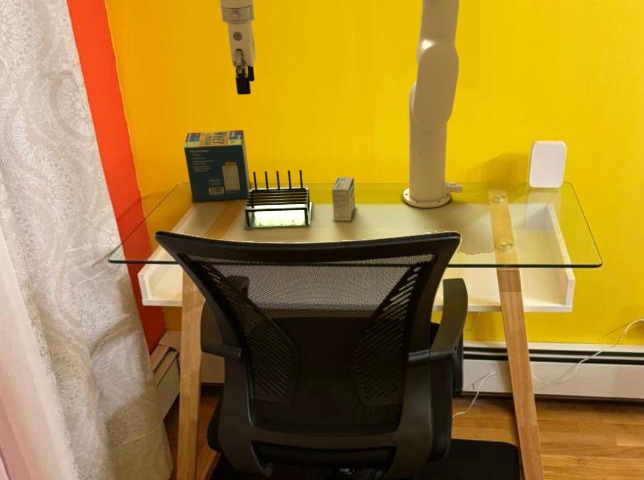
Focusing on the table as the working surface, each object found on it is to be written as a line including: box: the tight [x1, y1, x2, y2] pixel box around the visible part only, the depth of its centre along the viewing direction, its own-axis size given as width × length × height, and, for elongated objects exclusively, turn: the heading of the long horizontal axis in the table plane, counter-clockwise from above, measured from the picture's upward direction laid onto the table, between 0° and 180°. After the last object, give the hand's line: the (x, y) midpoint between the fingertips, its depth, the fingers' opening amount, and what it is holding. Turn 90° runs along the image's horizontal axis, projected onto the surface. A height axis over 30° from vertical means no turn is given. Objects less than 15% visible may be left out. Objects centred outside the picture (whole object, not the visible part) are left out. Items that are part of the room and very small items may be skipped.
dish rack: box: [244, 169, 312, 230], centre depth 202 cm, size 16×13×10 cm
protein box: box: [183, 129, 251, 203], centre depth 213 cm, size 10×15×16 cm
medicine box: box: [331, 176, 356, 222], centre depth 202 cm, size 8×4×9 cm, turn 171°
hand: (246, 87), depth 192 cm, fingers open, 9 cm apart
